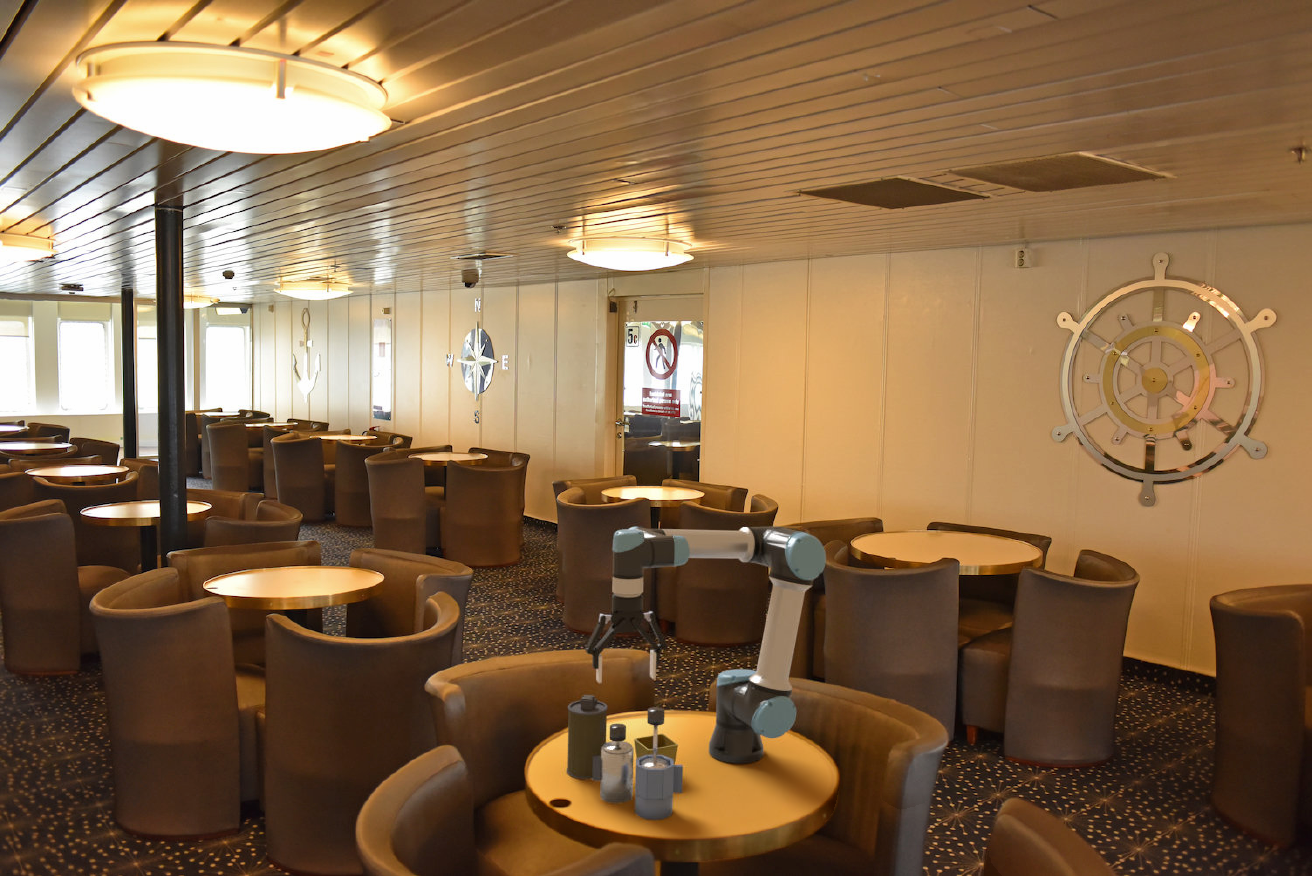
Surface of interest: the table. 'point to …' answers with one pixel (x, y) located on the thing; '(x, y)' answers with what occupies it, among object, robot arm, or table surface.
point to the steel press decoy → (615, 767)
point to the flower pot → (663, 746)
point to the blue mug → (656, 788)
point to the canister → (585, 735)
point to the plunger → (655, 738)
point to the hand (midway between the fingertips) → (626, 679)
